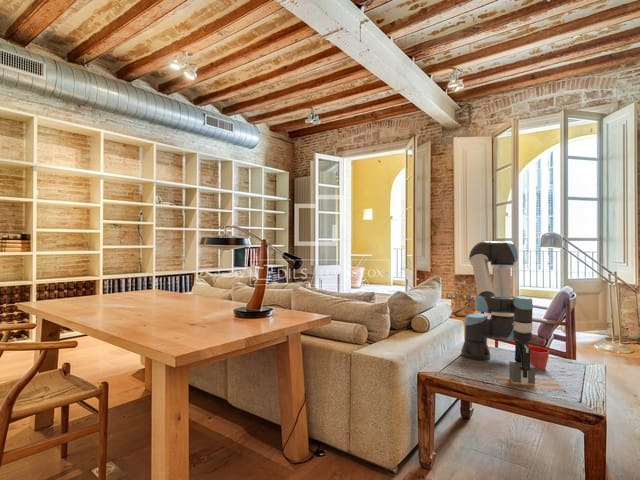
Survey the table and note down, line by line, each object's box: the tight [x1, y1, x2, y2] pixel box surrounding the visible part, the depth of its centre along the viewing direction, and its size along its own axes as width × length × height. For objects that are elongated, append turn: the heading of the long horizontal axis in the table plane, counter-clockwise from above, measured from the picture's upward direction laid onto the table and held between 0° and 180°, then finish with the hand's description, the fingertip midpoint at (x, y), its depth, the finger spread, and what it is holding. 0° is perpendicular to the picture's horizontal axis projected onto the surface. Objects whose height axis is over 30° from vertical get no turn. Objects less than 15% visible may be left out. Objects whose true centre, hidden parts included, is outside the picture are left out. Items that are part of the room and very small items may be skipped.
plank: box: [493, 374, 567, 394], centre depth 168 cm, size 13×26×1 cm, turn 78°
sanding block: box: [508, 361, 536, 386], centre depth 168 cm, size 6×9×8 cm, turn 77°
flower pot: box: [528, 345, 550, 371], centre depth 189 cm, size 11×11×10 cm
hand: (521, 381), depth 168 cm, fingers closed on sanding block, 6 cm apart
